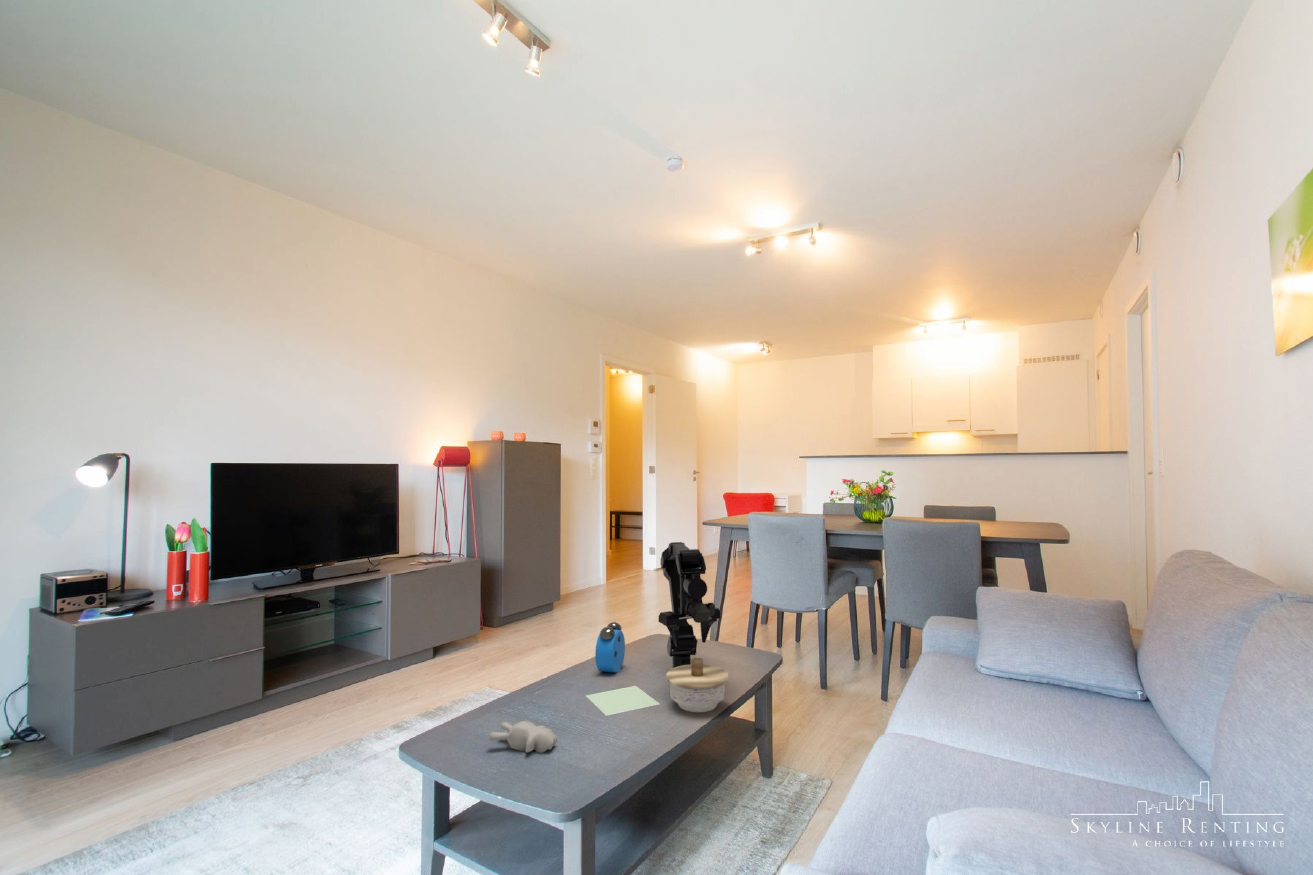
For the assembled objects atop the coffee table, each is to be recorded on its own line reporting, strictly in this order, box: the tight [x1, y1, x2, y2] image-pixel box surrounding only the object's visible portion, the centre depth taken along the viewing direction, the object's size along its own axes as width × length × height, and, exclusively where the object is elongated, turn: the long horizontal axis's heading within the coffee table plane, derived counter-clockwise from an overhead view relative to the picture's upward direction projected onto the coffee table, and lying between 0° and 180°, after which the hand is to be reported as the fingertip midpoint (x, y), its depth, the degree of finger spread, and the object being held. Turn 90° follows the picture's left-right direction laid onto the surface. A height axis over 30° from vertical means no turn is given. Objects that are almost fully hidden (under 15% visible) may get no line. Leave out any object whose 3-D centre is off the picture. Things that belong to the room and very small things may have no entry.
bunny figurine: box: [488, 720, 558, 754], centre depth 142 cm, size 10×5×15 cm
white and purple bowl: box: [669, 683, 726, 713], centre depth 165 cm, size 15×15×8 cm
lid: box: [666, 657, 729, 689], centre depth 165 cm, size 17×17×5 cm
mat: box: [585, 685, 661, 717], centre depth 168 cm, size 16×16×1 cm
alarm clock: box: [594, 621, 626, 674], centre depth 194 cm, size 13×6×15 cm, turn 165°
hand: (690, 644), depth 178 cm, fingers open, 9 cm apart
